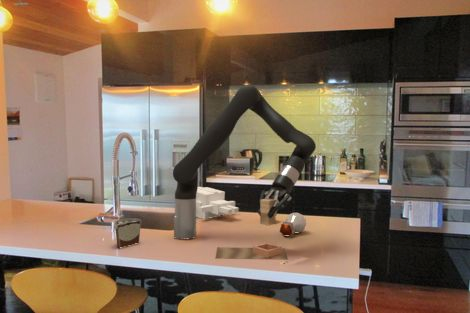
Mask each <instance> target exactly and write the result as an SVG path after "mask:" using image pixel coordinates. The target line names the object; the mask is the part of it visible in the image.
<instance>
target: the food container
mask: <svg viewBox="0 0 470 313" xmlns="http://www.w3.org/2000/svg"><path fill="white" fill-rule="evenodd" d="M142 224H143V222H142V220H141V218H122V219H118V220H116V221H115V222H114V224H113V228H114V229H115V238H116V246H118V247H119V248H118V247H117V248H118V249H121V248H120V247H124V246H128V245H132V244H135V243H139V244H140V236H141V235H140V234H141V225H142ZM132 246H133V245H132ZM128 247H129V246H128ZM124 248H125V247H124Z"/></svg>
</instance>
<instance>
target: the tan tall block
mask: <svg viewBox="0 0 470 313" xmlns="http://www.w3.org/2000/svg"><path fill="white" fill-rule="evenodd" d="M259 200H260V199H259ZM274 202H275V200H273V199H262V200H260V203H259V205H260V207H259V209H260V211H261V213H260V215H259V217H260V218H259V219H260V220H259V222H260V225H263V226H272V225H275V224H276V222H277V221H276V219H277V218H276V217H277V215H276V212H275V214H274V216H273V217H272V218H269V217H268V215H267V214H268V212H269V211H270V209H271V207H273V204H274Z"/></svg>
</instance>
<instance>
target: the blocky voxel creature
mask: <svg viewBox="0 0 470 313" xmlns="http://www.w3.org/2000/svg"><path fill="white" fill-rule="evenodd" d="M225 195H226V191H223V190H219V189H215V188H212V187H209V186H206V187H205V186H204V187H203V186H198V188H197V193H196V218H197V219H201V218H204V219H205V218H209V217H214V216H219V215H223V216H224V214H225V215H231V214H235V213H239V210H240V208H239V207H237V206H236V201H235V200H229V201H228V200H225V197H226V196H225ZM219 217H220V216H219ZM204 219H203V220H204Z"/></svg>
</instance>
